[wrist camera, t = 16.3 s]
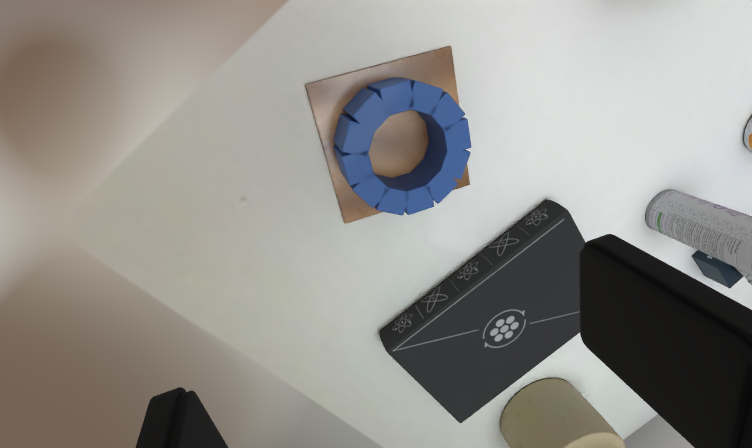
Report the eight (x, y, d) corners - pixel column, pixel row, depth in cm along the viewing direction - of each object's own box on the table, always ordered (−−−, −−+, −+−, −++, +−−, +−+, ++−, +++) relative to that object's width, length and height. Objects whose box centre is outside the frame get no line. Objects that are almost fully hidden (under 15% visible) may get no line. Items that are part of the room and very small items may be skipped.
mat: (304, 84, 32) (305, 84, 32) (449, 46, 34) (451, 45, 33) (344, 222, 37) (345, 224, 37) (468, 183, 39) (470, 184, 38)
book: (546, 196, 41) (566, 206, 39) (598, 288, 48) (618, 303, 45) (376, 330, 42) (383, 349, 40) (449, 403, 49) (460, 424, 46)
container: (683, 183, 45) (861, 240, 32) (680, 221, 47) (846, 290, 34) (645, 197, 45) (811, 260, 31) (644, 235, 47) (799, 309, 33)
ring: (319, 97, 32) (326, 104, 29) (439, 64, 34) (460, 65, 30) (352, 213, 37) (362, 230, 33) (457, 179, 38) (477, 192, 34)
